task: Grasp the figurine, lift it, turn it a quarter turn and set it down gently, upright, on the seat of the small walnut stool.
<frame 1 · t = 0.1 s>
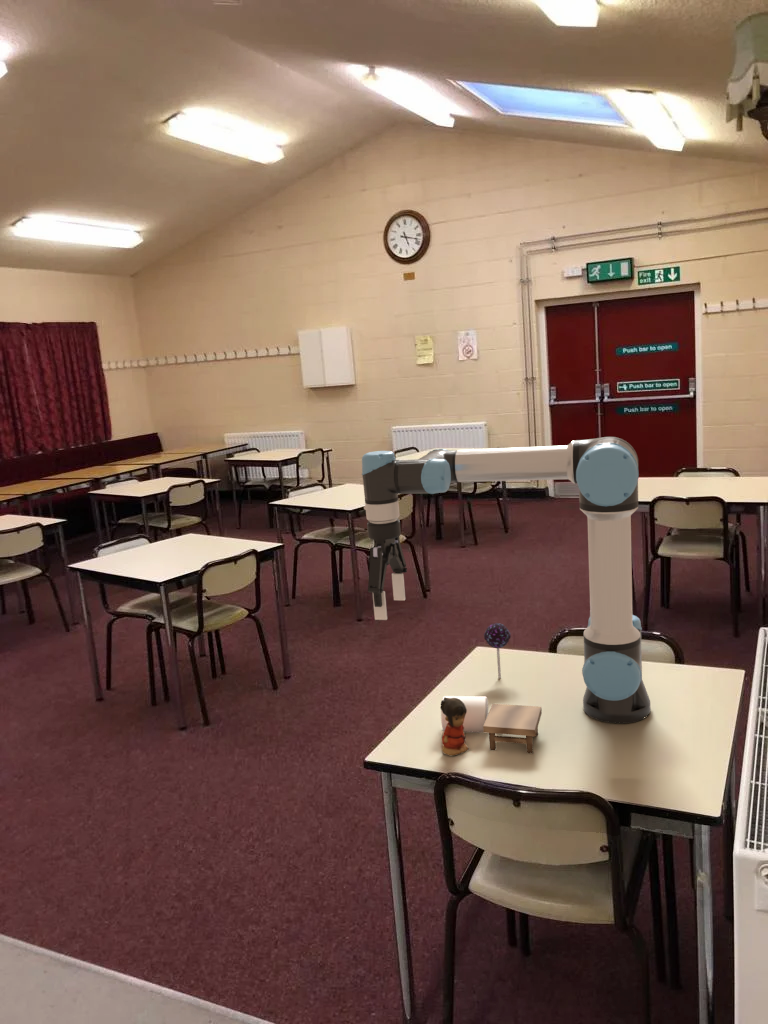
hand: (390, 609, 183), 28 cm above the table, fingers open, 13 cm apart
lollipop: (499, 678, 208), on the table
mug: (467, 726, 184), on the table
stool: (514, 741, 175), on the table
figurine: (455, 751, 173), on the table
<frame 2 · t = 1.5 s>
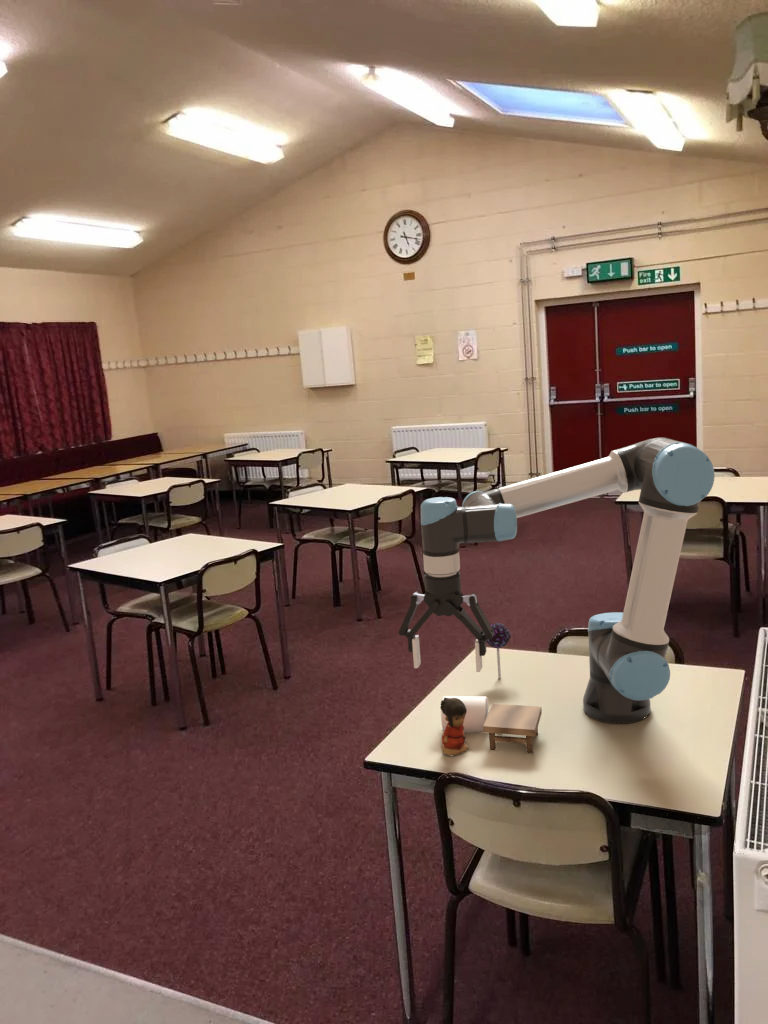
hand: (448, 667, 169), 19 cm above the table, fingers open, 13 cm apart
nothing on the table moved.
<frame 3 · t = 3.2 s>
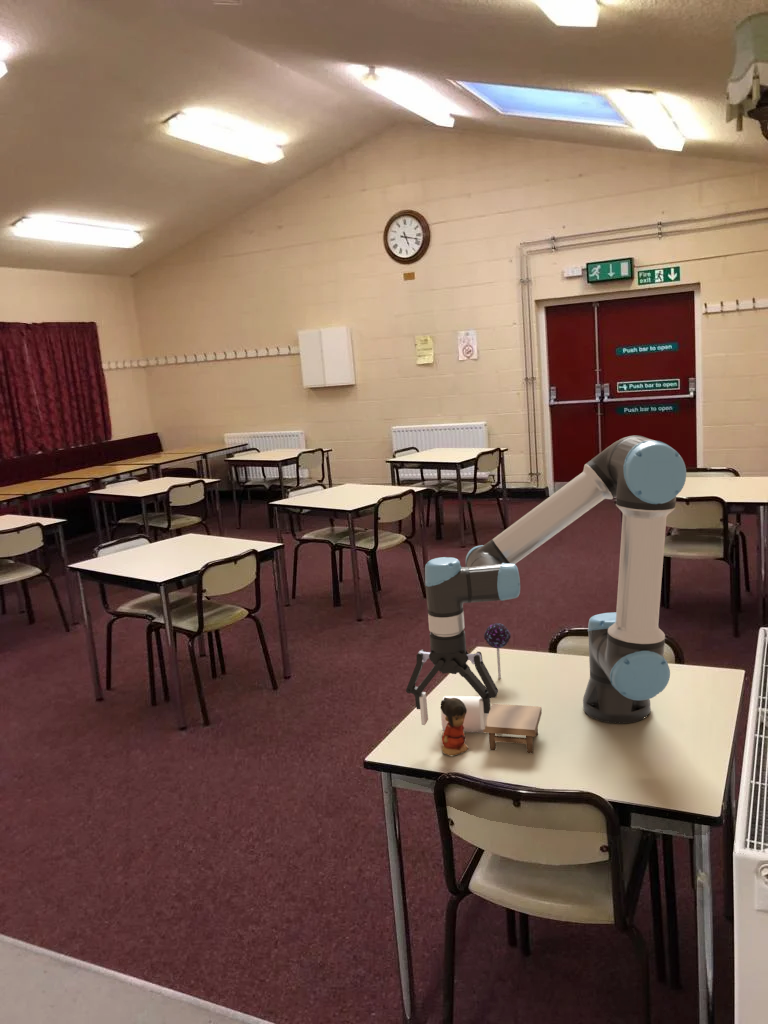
hand: (454, 724, 172), 6 cm above the table, fingers open, 12 cm apart
nothing on the table moved.
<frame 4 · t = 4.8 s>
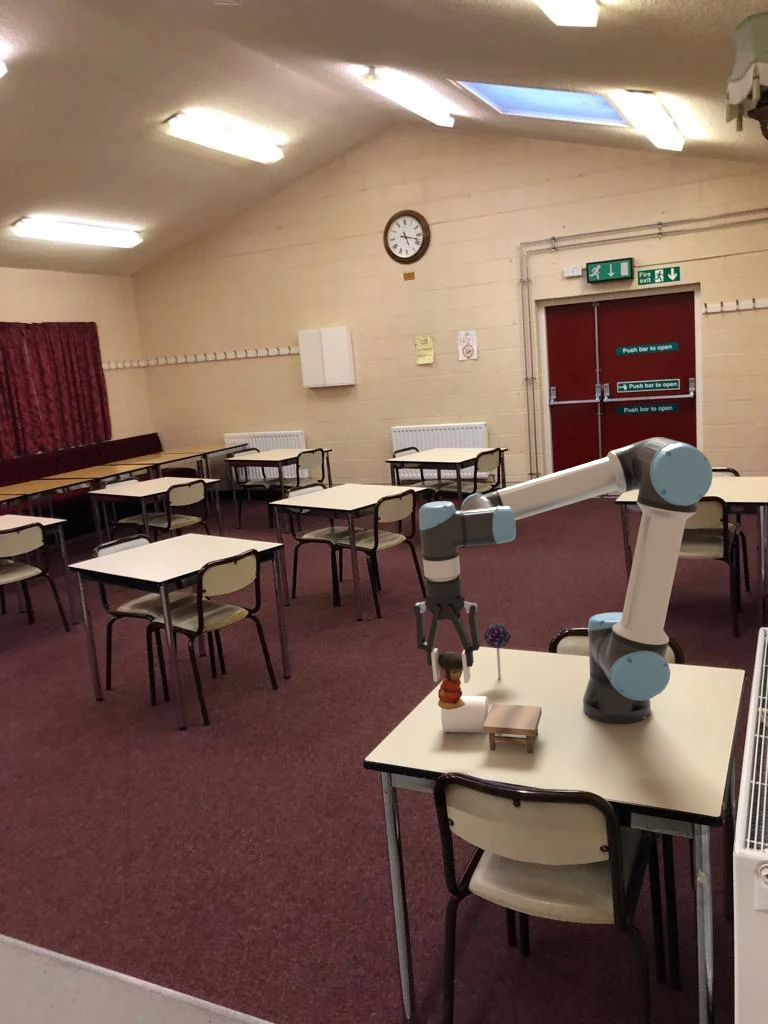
hand: (452, 679, 170), 17 cm above the table, fingers closed on figurine, 6 cm apart
figurine: (450, 705, 171), point 10 cm above the table, touching gripper
everything else where it was.
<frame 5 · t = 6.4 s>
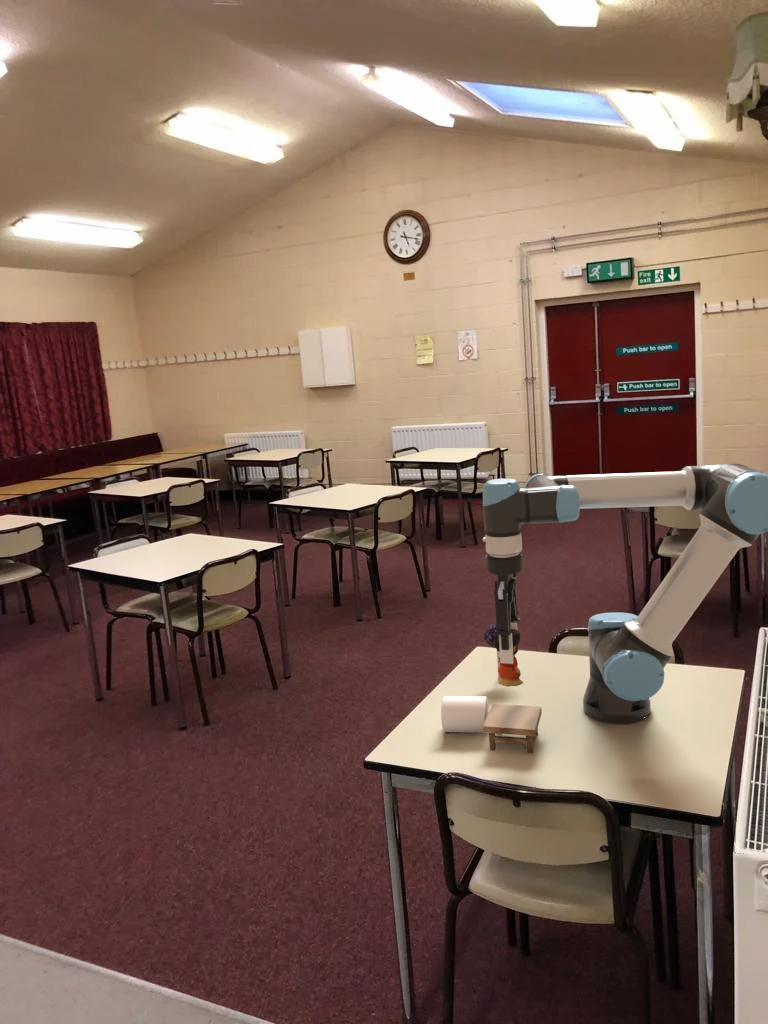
hand: (509, 656, 171), 20 cm above the table, fingers closed on figurine, 6 cm apart
figurine: (510, 684, 171), point 14 cm above the table, touching gripper
everything else where it was.
when the fingers open (12 cm above the table, at t = 8.5 s): figurine stays where it is, resting on stool.
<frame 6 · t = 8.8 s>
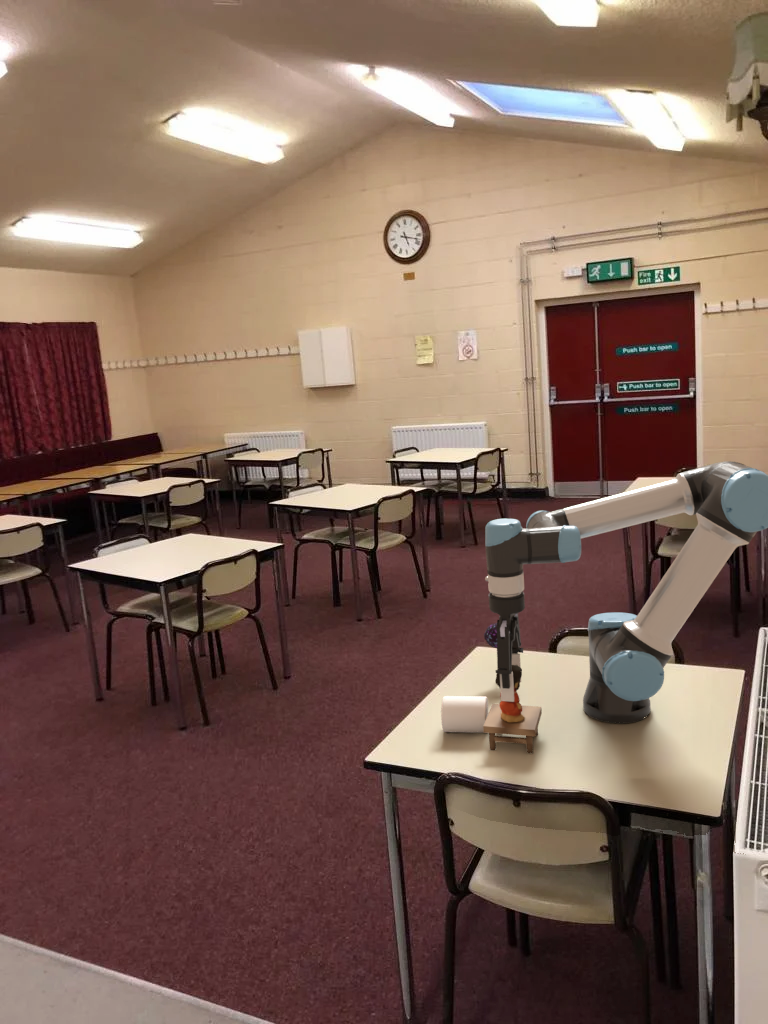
hand: (511, 690, 172), 12 cm above the table, fingers open, 9 cm apart
figurine: (512, 718, 173), point 6 cm above the table, touching stool
everything else where it was.
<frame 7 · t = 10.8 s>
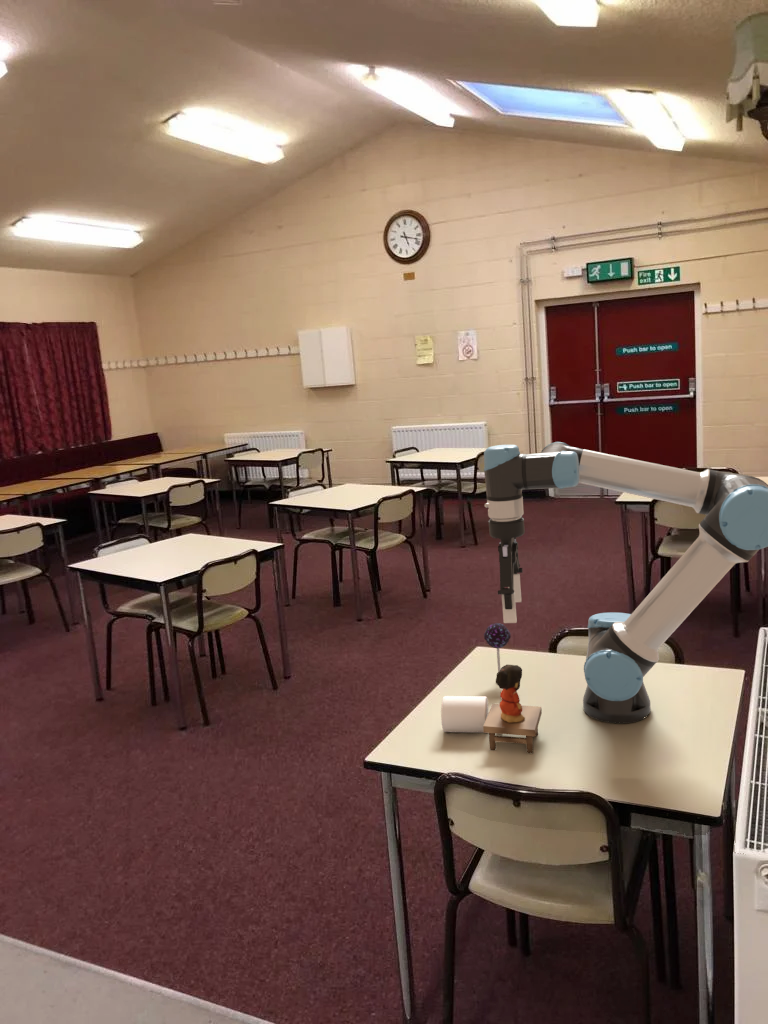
hand: (513, 611, 174), 28 cm above the table, fingers open, 13 cm apart
nothing on the table moved.
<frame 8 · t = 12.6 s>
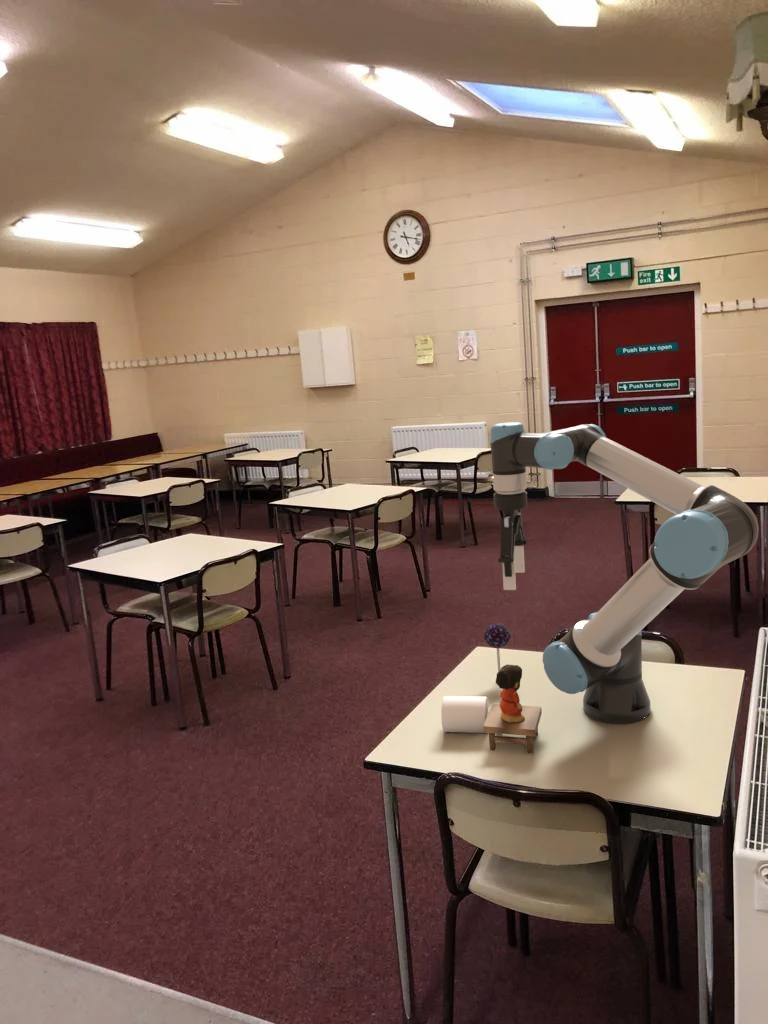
hand: (514, 580, 184), 32 cm above the table, fingers open, 13 cm apart
nothing on the table moved.
at the end: figurine inside the target area on the stool (0.8 cm from its centre), point 5.8 cm above the stool's base; figurine tilted 0°; the gripper is holding nothing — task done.
